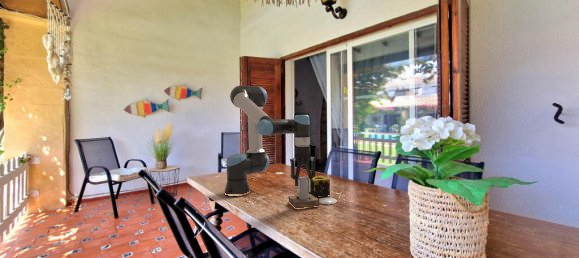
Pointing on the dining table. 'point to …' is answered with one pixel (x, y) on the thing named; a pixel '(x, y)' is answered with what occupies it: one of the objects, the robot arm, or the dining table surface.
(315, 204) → the socket block
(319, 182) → the candle
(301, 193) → the beverage can
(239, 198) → the dining table surface
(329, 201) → the white round domed part
